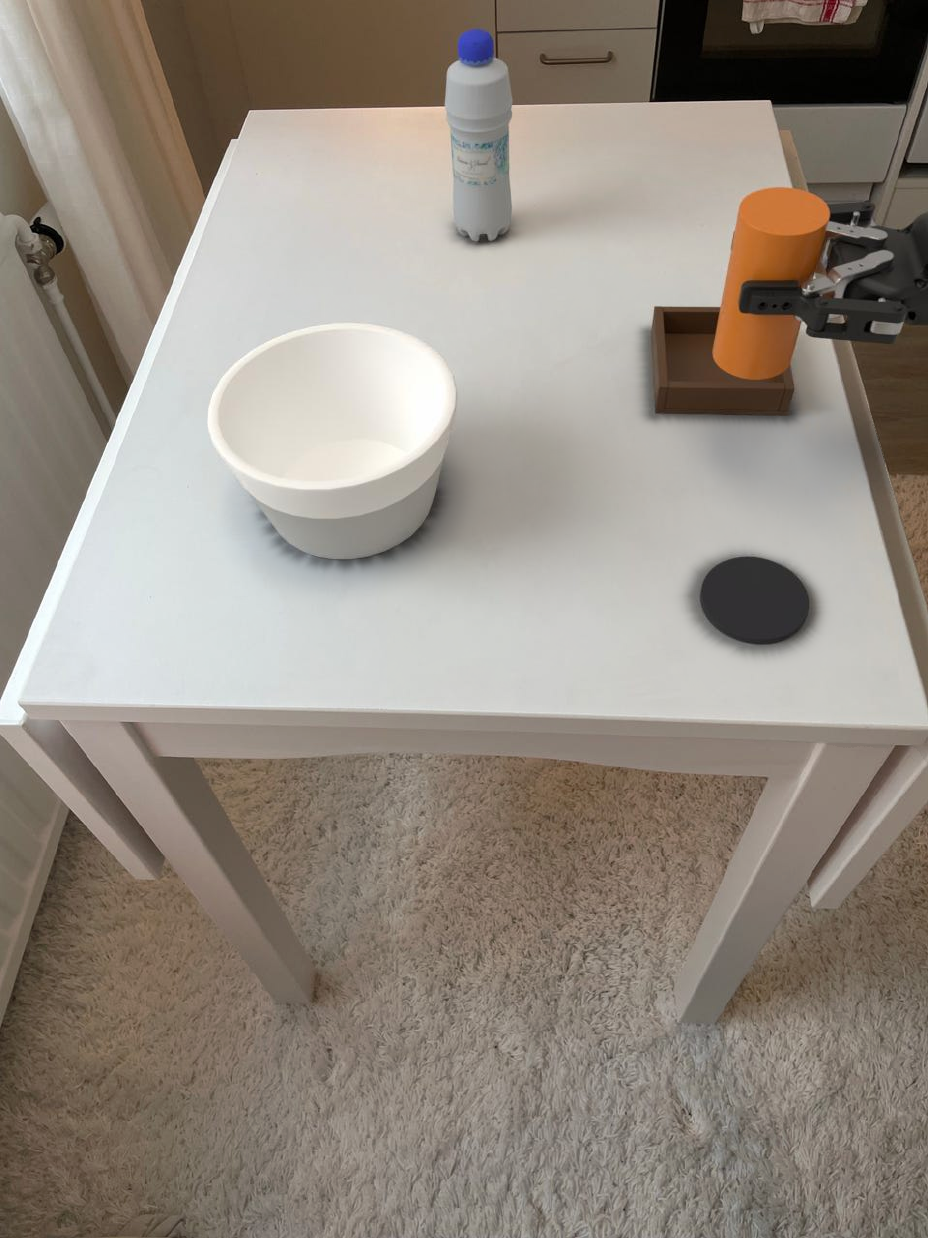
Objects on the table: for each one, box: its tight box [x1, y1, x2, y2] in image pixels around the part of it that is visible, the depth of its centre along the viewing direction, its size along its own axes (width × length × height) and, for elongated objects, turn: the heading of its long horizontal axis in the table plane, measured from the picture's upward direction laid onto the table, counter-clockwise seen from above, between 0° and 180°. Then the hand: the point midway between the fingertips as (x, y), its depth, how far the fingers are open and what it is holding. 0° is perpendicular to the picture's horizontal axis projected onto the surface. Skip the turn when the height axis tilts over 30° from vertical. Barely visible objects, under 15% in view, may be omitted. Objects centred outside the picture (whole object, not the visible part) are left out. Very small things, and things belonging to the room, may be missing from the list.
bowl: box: [207, 322, 458, 560], centre depth 77 cm, size 19×19×11 cm
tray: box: [650, 305, 795, 416], centre depth 88 cm, size 12×12×3 cm
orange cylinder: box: [712, 186, 830, 380], centre depth 69 cm, size 6×6×12 cm
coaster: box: [699, 556, 810, 645], centre depth 73 cm, size 8×8×1 cm
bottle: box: [444, 28, 514, 242], centre depth 97 cm, size 7×7×20 cm
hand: (737, 269), depth 68 cm, fingers closed on orange cylinder, 6 cm apart
